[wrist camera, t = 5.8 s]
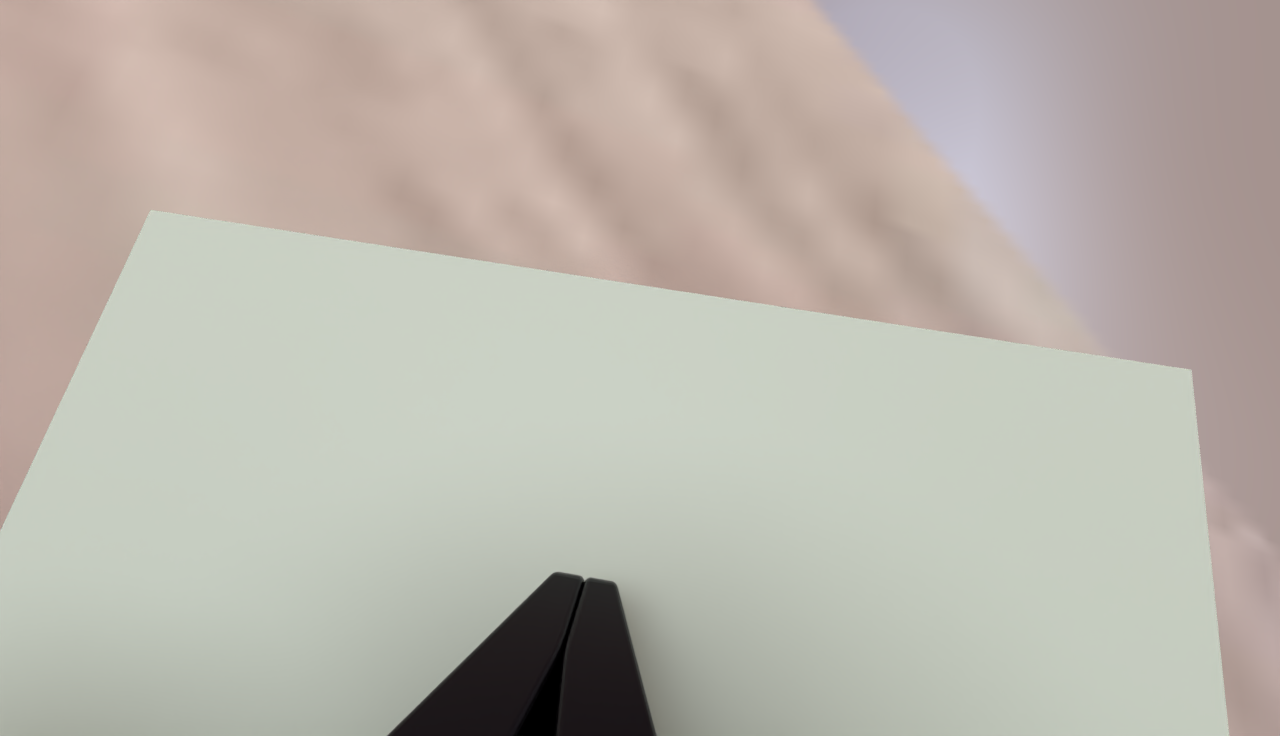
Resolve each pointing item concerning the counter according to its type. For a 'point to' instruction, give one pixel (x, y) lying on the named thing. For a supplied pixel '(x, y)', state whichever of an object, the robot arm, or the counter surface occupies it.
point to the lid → (591, 506)
